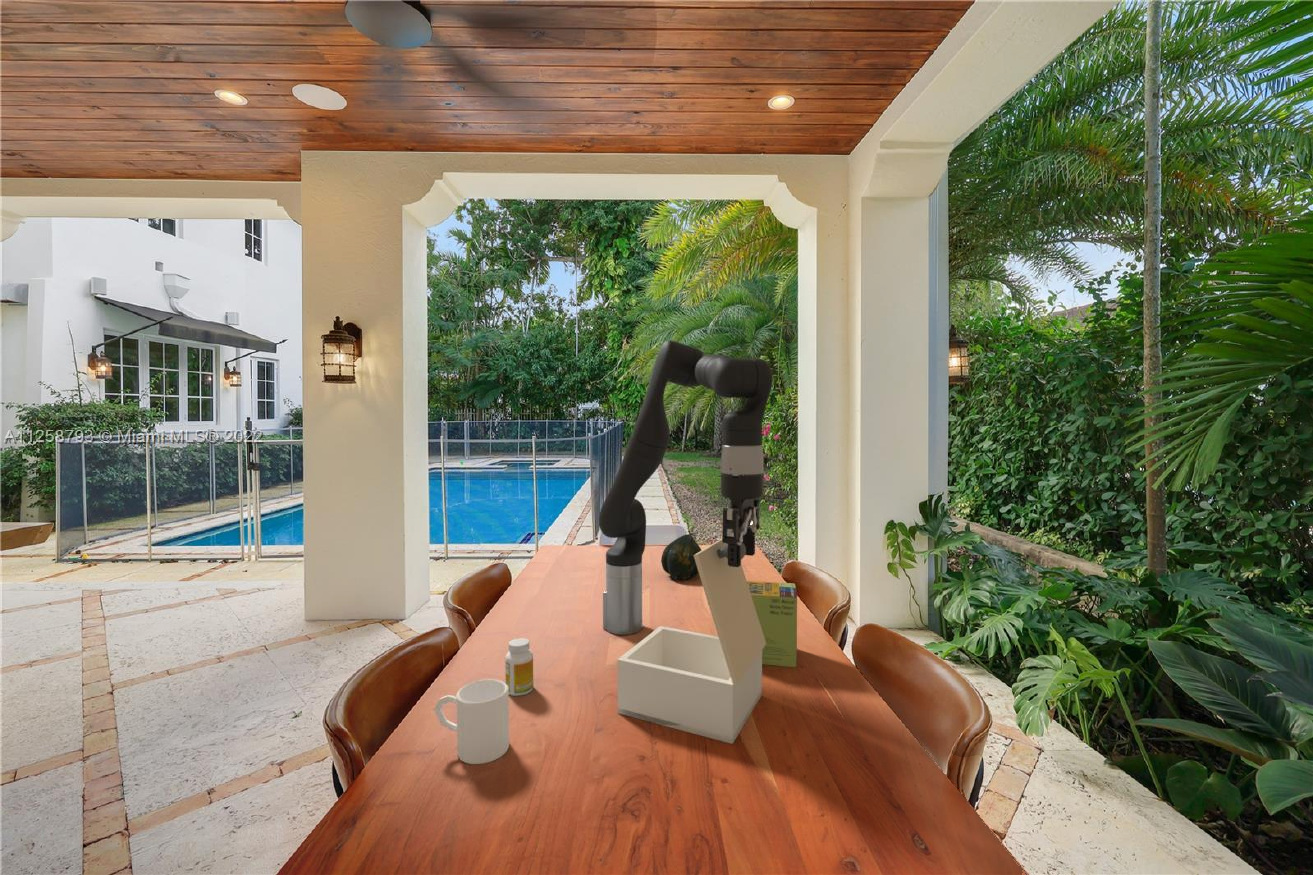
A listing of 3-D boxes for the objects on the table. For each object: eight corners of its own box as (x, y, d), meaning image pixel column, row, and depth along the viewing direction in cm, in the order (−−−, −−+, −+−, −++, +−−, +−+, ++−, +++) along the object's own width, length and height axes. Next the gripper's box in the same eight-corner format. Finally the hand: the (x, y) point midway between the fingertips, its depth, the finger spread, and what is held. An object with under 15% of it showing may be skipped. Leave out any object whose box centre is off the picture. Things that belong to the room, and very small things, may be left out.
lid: (693, 555, 94) (724, 547, 91) (728, 534, 110) (755, 527, 107) (733, 684, 91) (766, 680, 89) (762, 644, 107) (791, 640, 105)
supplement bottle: (538, 685, 112) (538, 638, 112) (523, 698, 107) (523, 649, 106) (515, 681, 114) (515, 635, 113) (500, 694, 109) (499, 645, 108)
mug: (444, 735, 95) (443, 678, 94) (514, 735, 95) (513, 678, 94) (424, 765, 87) (423, 703, 86) (501, 764, 87) (500, 703, 86)
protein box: (797, 668, 120) (797, 597, 119) (726, 662, 123) (726, 592, 122) (795, 648, 130) (795, 582, 129) (729, 643, 133) (729, 579, 132)
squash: (650, 565, 182) (680, 532, 181) (657, 555, 197) (685, 525, 195) (681, 595, 181) (712, 562, 179) (687, 583, 195) (715, 552, 194)
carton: (617, 713, 101) (617, 659, 101) (660, 672, 118) (660, 626, 117) (732, 744, 92) (732, 685, 91) (761, 695, 108) (762, 644, 107)
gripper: (734, 466, 107) (734, 549, 107) (708, 473, 94) (708, 567, 95) (772, 468, 103) (772, 553, 104) (751, 475, 91) (750, 573, 91)
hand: (741, 560), depth 99 cm, fingers open, 8 cm apart
